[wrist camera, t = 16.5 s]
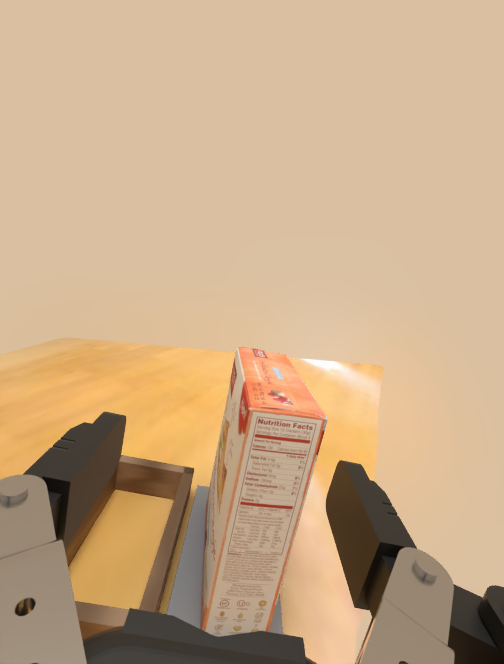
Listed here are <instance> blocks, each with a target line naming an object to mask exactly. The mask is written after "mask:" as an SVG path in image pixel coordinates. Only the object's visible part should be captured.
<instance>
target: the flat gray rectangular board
mask: <svg viewBox="0 0 504 664" xmlns="http://www.w3.org/2000/svg"><path fill="white" fill-rule="evenodd" d="M209 488H210V487H204V486H199V485H198V486H197V490H196V494H195V498H194V502H193V507H192V511H191V515H190V519H189V523H188V527H187V532H186V536H185V540H184V544H183V548H182V552H181V557H180V561H179V565H178V569H177V573H176V577H175V582H174V586H173V590H172V594H171V598H170V602H169V607H168V611H167V615H173V616H175V617H177V618H179V619H181V620H183V621H185V622H187V623H189V624H191V625H193V626H195V627H197V628H199V629H201V609H202V586H203V566H204V544H205V523H206V504H207V498H208V493H209ZM269 632H272V633H278V634H283V629H282V617H281V605H280V593H279V596H278V600H277V603H276V606H275V610H274V613H273V617H272V621H271V625H270V628H269Z"/></svg>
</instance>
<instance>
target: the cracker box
mask: <svg viewBox="0 0 504 664" xmlns="http://www.w3.org/2000/svg"><path fill="white" fill-rule="evenodd" d="M326 423H327V417H326V415H325V414H324V412H323V411H322V409H321V408H320V406H319V405H318V403H317V402H316V400H315V399H314V397H313V396H312V394H311V393H310V391H309V389H308V388H307V386H306V385H305V383H304V382H303V380H302V379H301V377H300V376H299V374H298V373H297V371H296V370H295V368H294V367H293V365H292V364H291V362H290V360H289V359H288V357H287V356H286V355H284V354H280V353H272V352H266V351H261V350H258V349H252V348H244V347H237V349H236V354H235V359H234V364H233V369H232V375H231V380H230V386H229V391H228V397H227V402H226V407H225V411H224V416H223V421H222V426H221V432H220V437H219V442H218V447H217V453H216V458H215V463H214V468H213V473H212V478H211V483H210V488H209V493H208V498H207V504H206V523H205V544H204V566H203V586H202V609H201V630H203V631H205V632H207V633H209V634H211V635H214V636H218V637H219V636H228V635H235V634H242V633H249V632H256V631H266V632H269V628H270V625H271V621H272V617H273V613H274V610H275V606H276V603H277V600H278V596H279V592H280V589H281V585H282V581H283V578H284V574H285V570H286V567H287V563H288V560H289V556H290V553H291V549H292V545H293V542H294V538H295V535H296V531H297V527H298V524H299V520H300V517H301V513H302V509H303V506H304V502H305V499H306V495H307V491H308V488H309V484H310V481H311V477H312V474H313V470H314V467H315V463H316V459H317V456H318V452H319V449H320V445H321V442H322V438H323V435H324V431H325V427H326Z"/></svg>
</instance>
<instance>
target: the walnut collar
mask: <svg viewBox="0 0 504 664" xmlns="http://www.w3.org/2000/svg"><path fill="white" fill-rule="evenodd" d="M193 473H194V468H189V467H184V466H178V465H173V464H167V463H162V462H156V461H151V460H146V459H140V458H135V457H129V456H124V455H121V456H120V460H119V463H118V465H117V468H116V470H115V472H114V473H113V475H112V476H111V478H110V480H109V481H108V483H107V484H106V486H105V487H104V489H103V491H102V492H101V494H100V495H99V497H98V498H97V500H96V502H95V503H94V505H93V506H92V508H91V509H90V511H89V513H88V514H87V516H86V517H85V519H84V521H83V522H82V524H81V525H80V527H79V528H78V530H77V532H76V533H75V535H74V536H73V538H72V539H71V541H70V543H69V544H68V546H67V547H66V549H65V554H66V559H67V564H68V566H69V564H70V563H71V561H72V559H73V558H74V556H75V554H76V553H77V551H78V549H79V548H80V546H81V544H82V543H83V541H84V539H85V538H86V536H87V534H88V533H89V531H90V529H91V528H92V526H93V524H94V523H95V521H96V519H97V518H98V516H99V514H100V513H101V511H102V509H103V508H104V506H105V504H106V503H107V501H108V499H109V498H110V496H111V494H112V493H113V491H114V489H118V490H124V491H129V492H135V493H141V494H146V495H152V496H158V497H163V498H169V499H174V503H173V506H172V509H171V512H170V515H169V518H168V521H167V524H166V527H165V530H164V534H163V537H162V540H161V543H160V546H159V549H158V552H157V555H156V558H155V561H154V565H153V568H152V571H151V574H150V577H149V580H148V583H147V586H146V589H145V592H144V596H143V599H142V602H141V605H140V608H139V610H143V611H149V612H155V613H158V611H159V607H160V603H161V599H162V596H163V592H164V588H165V584H166V581H167V577H168V573H169V569H170V565H171V562H172V558H173V554H174V550H175V547H176V543H177V539H178V535H179V532H180V528H181V524H182V520H183V517H184V513H185V509H186V505H187V501H188V498H189V494H190V488H191V483H192V478H193ZM75 605H76V610H77V615H78V620H79V626H80V631H81V636H82V640H83V639H85V638H86V637H88V636H90V635H92V634H95V633H97V632H100V631H102V630H105V629H109V628H113V627H117V626H124V624H125V621H126V618H127V615H128V612H129V610H128V609H121V608H115V607H109V606H103V605H97V604H90V603H84V602H78V601H75Z"/></svg>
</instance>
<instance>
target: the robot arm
mask: <svg viewBox="0 0 504 664" xmlns="http://www.w3.org/2000/svg"><path fill="white" fill-rule="evenodd" d="M125 425H126V416H124V415H119V414H114V413H109V412H103V413H102V414H101V415H100V416H99V417H98V418H97V419H96V420H95V421H94V423H93V424H90V423H85V422H84V423H82V424H80V425H78V426H76V427H74V428H71V429H70V430H69V431H68V432H67V433H66V434H65V435H64V436H63V437H61V439H60V440H58V441H57V442H56V443H55V444H54V445H53V447H52V448H50V449H49V450H48V451H47V452H46V453H45V454H44V455H43V456H42V457H40V458H39V459H38V460H37V461H36V462H35V463H34V464H33V465H32V466H31V467H30V468H29V469H28V470H27V471H26V472H25V473H24V474H23V475H15V476H10V477H7V478H4V479H1V480H0V664H317V663H315V662H313V661H312V660H310V659H308V658H307V657H305V650H304V642H303V638H301V637H295V636H289V635H284V634H278V633H272V632H266V631H256V632H249V633H242V634H235V635H228V636H219V637H218V636H214V635H211V634H209V633H207V632H205V631H203V630H201V629H199V628H197V627H195V626H193V625H191V624H189V623H187V622H185V621H183V620H181V619H179V618H177V617H175V616H173V615H167V614H161V613H155V612H149V611H143V610H137V609H132V608H130V609H129V612H128V615H127V618H126V621H125V624H124V626H117V627H113V628H109V629H105V630H102V631H100V632H97V633H95V634H92V635H90V636H88V637H86V638H85V639H83V640H82V636H81V631H80V626H79V620H78V615H77V610H76V605H75V600H74V595H73V590H72V585H71V579H70V574H69V569H68V564H67V559H66V554H65V549H66V547H67V546H68V544H69V543H70V541H71V539H72V538H73V536H74V535H75V533H76V532H77V530H78V528H79V527H80V525H81V524H82V522H83V521H84V519H85V517H86V516H87V514H88V513H89V511H90V509H91V508H92V506H93V505H94V503H95V502H96V500H97V498H98V497H99V495H100V494H101V492H102V491H103V489H104V487H105V486H106V484H107V483H108V481H109V480H110V478H111V476H112V475H113V473H114V472H115V470H116V468H117V465H118V463H119V460H120V456H121V451H122V445H123V438H124V432H125ZM326 512H327V516H328V520H329V523H330V526H331V530H332V533H333V536H334V540H335V543H336V547H337V550H338V553H339V557H340V560H341V563H342V567H343V570H344V574H345V577H346V580H347V584H348V587H349V590H350V594H351V597H352V600H353V604H354V607H355V608H360V609H365V610H370V612H371V615H372V619H371V622H370V624H369V627H368V629H367V632H366V635H365V638H364V640H363V643H362V646H361V649H360V651H359V654H358V657H357V659H356V662H355V664H504V587H500V586H490V587H489V588H487V590H486V592H485V594H484V596H483V598H482V597H480V596H478V595H476V594H474V593H471V592H469V591H467V590H465V589H463V588H461V587H458V586H456V585H454V584H453V582H452V579H451V577H450V576H449V574H448V573H447V571H446V570H445V569H444V568H443V566H442V565H441V564H440V563H439V562H438V561H436V560H435V559H434V558H433V557H431V556H430V555H428V554H426V553H425V552H423V551H421V550H418V549H417V548H416V546H415V544H414V542H413V540H412V539H411V537H410V535H409V533H408V532H407V530H406V528H405V526H404V525H403V523H402V521H401V519H400V518H399V517H398V516H397V512H396V511H395V509H394V507H393V506H392V504H391V502H390V500H389V498H388V497H387V495H386V493H385V492H384V491H383V490H382V489H381V488H380V487H379V486H378V485H377V484H376V483H375V482H374V481H370V480H369V478H368V476H367V474H366V472H365V470H364V468H363V467H362V465H361V464H357V463H352V462H347V461H342V460H341V461H339V462H338V464H337V467H336V470H335V473H334V476H333V479H332V482H331V485H330V488H329V491H328V494H327V498H326Z"/></svg>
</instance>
